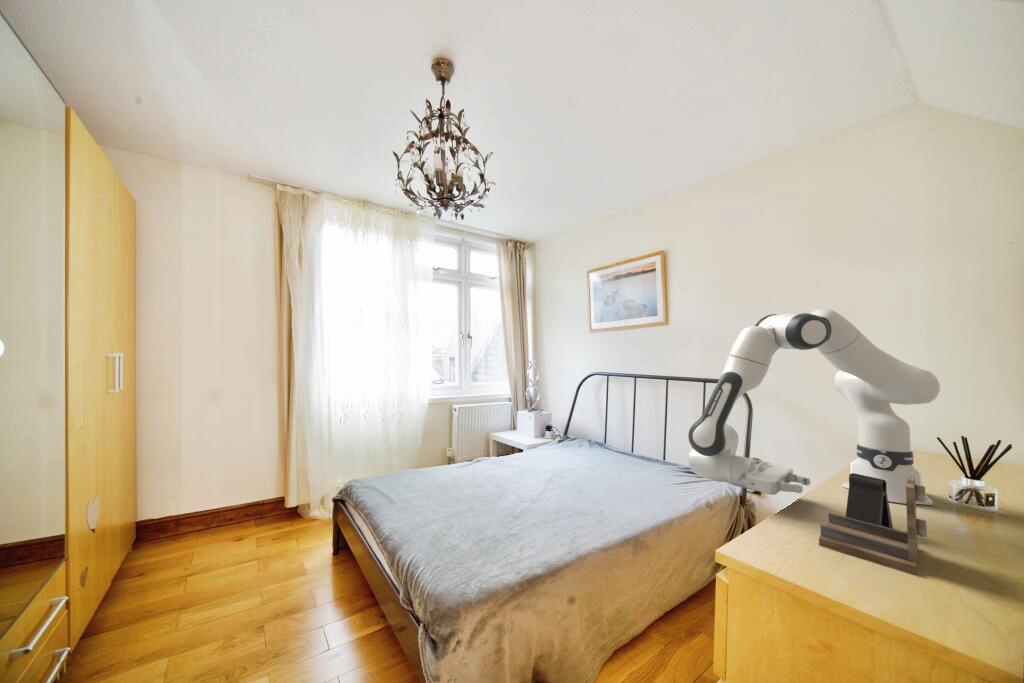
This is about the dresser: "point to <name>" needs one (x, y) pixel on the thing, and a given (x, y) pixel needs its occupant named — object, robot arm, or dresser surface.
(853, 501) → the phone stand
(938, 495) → the dresser surface
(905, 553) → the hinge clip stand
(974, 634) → the dresser surface
